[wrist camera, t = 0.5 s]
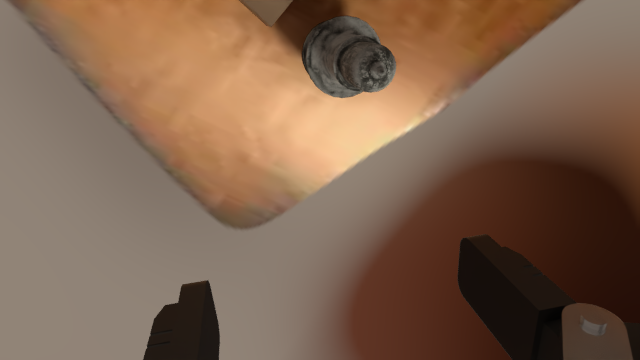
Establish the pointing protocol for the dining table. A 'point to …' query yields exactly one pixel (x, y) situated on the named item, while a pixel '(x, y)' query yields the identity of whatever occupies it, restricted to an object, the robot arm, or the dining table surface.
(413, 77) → the dining table surface
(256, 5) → the base block
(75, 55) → the dining table surface
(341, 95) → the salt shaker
